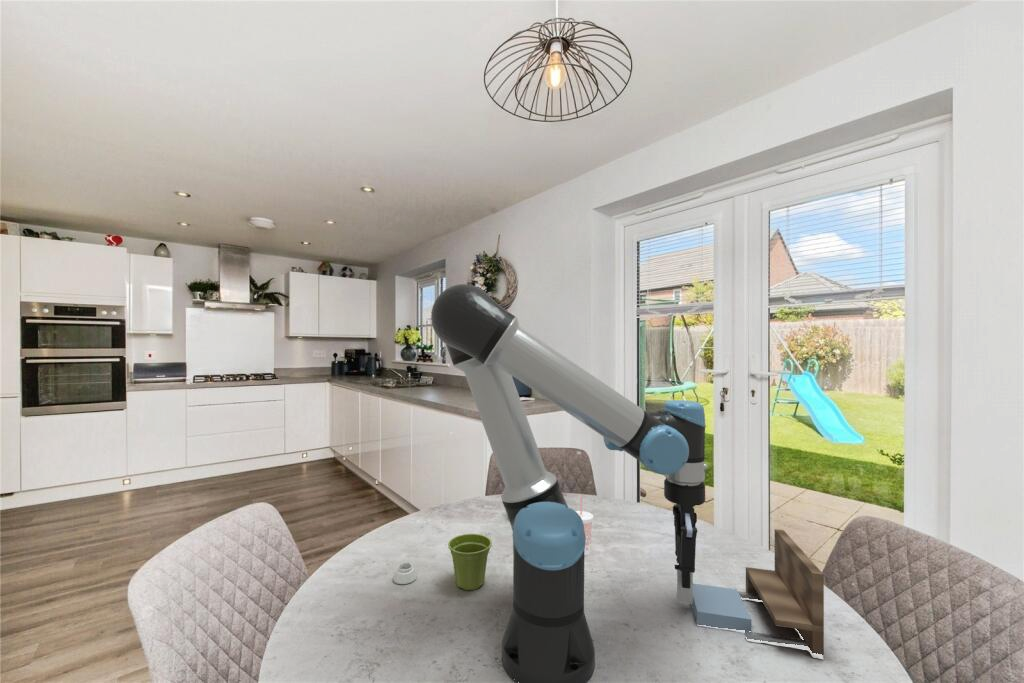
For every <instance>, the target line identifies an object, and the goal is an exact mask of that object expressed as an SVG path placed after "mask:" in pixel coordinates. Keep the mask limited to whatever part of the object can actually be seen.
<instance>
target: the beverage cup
mask: <svg viewBox="0 0 1024 683" xmlns="http://www.w3.org/2000/svg"><path fill="white" fill-rule="evenodd" d="M579 497H580V498H579V499H580V500H579V505H580V508H579V510H575V511H576V512H577V513H578V514H579V516H580V517H581V519H582V521H583V524H584V532H585V538H586V543H585V548H584V557H585V556H588V555H590V553H591V543H592V542H591V541H592V540H591V539H592V526H593V521H594V515H593V513H590V512H588V511H585V510H583V495H582V494H580V496H579Z"/></svg>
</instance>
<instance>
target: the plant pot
mask: <svg viewBox="0 0 1024 683" xmlns="http://www.w3.org/2000/svg"><path fill="white" fill-rule="evenodd" d="M492 543H493V541H492V540H491V538H489V537H488V536H487V535H483V534H480V533H465V534H460V535H457V536H454V537H452V538H451V539H450V540H449V541H448V543H447V546H448V549H449V550H450V554H451V556H452V563H453V570H454V571H453V572H454V580H455V585H456V587H457V588H461V589H463V590H464V591H472V590H477V589H479V588H480V587H481V586H483V585H484V584H485V578H486V569H487V564H488V555H489V553H490V549H491V547H492Z"/></svg>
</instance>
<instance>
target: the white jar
mask: <svg viewBox="0 0 1024 683" xmlns="http://www.w3.org/2000/svg"><path fill="white" fill-rule="evenodd" d="M417 578H418V574H417V571H416V569H415V568H414V567H413V564H412V563H410V562H403V563H400V564H399V565H398V567H397V569H396V570H395V573H394V574H393V578H392V580H393V582H394V583H395V584H398V585H407V584H411V583H414V582H415V581H416V580H417Z"/></svg>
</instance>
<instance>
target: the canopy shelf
mask: <svg viewBox="0 0 1024 683" xmlns="http://www.w3.org/2000/svg"><path fill="white" fill-rule="evenodd" d="M824 576H825V575H824V573H823V572H822V571H821V570H820V568H818V567H817V565H816V564H815V563H814V562H813V561H812V560H811V559H810V558H809V557H808V555H807V554H806V553H805V552H804V551H803V550H802V549H801V548H800V547H799V545H798V544H797V543H796V541H794V540H793V538H791V537H790V536H789V534H787V532H786V531H785V530H784V529H779V528H774V570H772V569H765V568H755V567H747V566H746V567H745V591H738V590H737V591H738V593H739V595H740V597H742V598H749V599H758V600H762V601H763V603H762V604H763V605H764V607H765V608H766V610H767V612H768V614H769V615H770V617H771V619H772V621H773V623H774V624H775V626H777V627H784V628H791V629H794V628H796V629H797V630H798V631H799V633H800V634H801V636H802V637H803V639H804V640H802V639H800V638H793V637H789V636H781V635H776V634H768V633H761V632H755V631H751V632H749V631H745V633H744V635H745V636H746V637H747V639H754V640H760V641H761V640H762V641H768V642H777V643H785V644H795V645H796V644H797V645H804V646H808V647H809V648H810V650H811V651H812V653H816V654H817V653H818V654H822V655H824V656H825V647H824V646H825V644H824V643H825V639H824V638H825V632H824V631H825V621H824V620H825V614H824V613H825V612H824V611H825V608H824V607H825V604H824V603H825V602H824V601H825V597H824V596H825V595H824V594H825V593H824V592H825V591H824V589H825V588H824V587H825V585H824V584H825V580H824V579H825V577H824Z"/></svg>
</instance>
